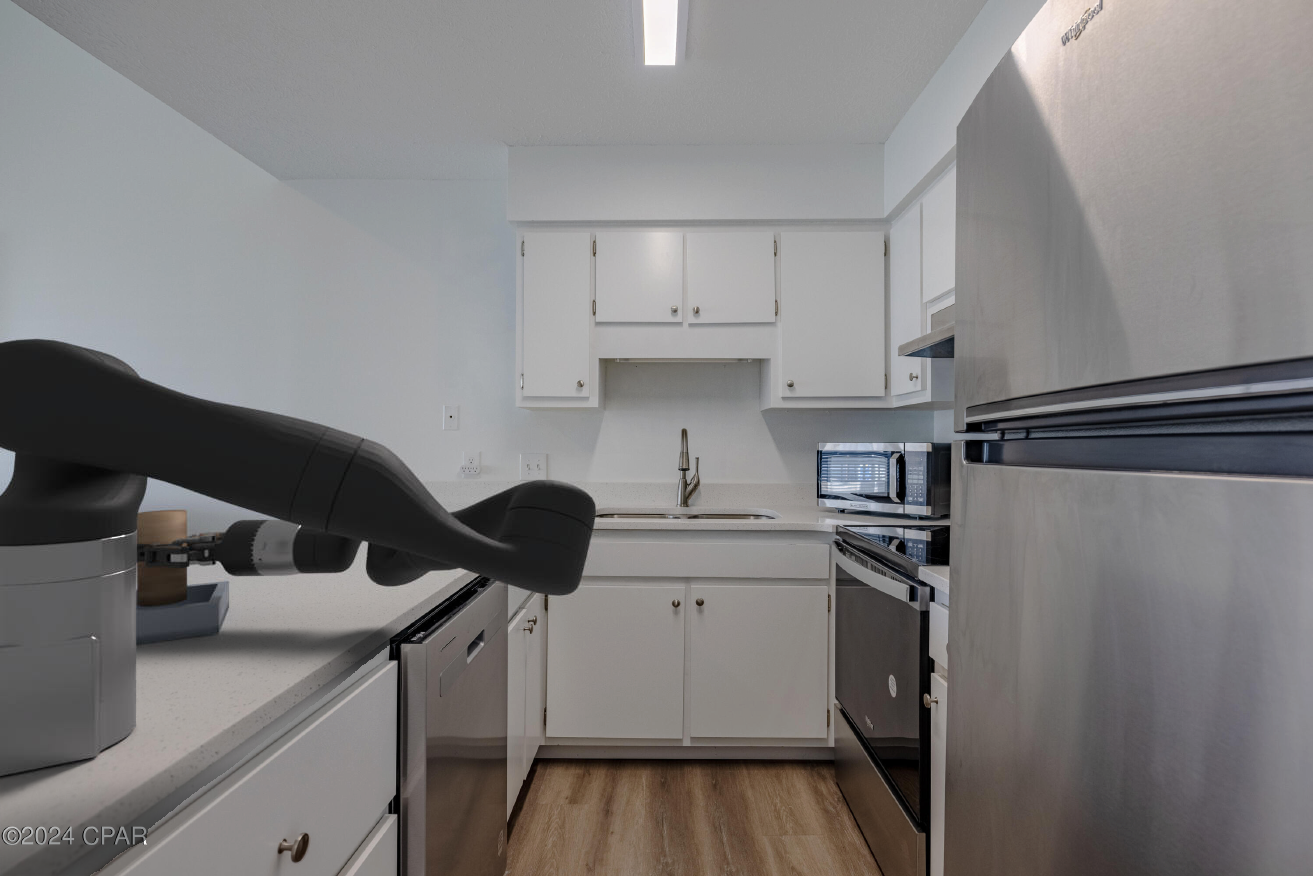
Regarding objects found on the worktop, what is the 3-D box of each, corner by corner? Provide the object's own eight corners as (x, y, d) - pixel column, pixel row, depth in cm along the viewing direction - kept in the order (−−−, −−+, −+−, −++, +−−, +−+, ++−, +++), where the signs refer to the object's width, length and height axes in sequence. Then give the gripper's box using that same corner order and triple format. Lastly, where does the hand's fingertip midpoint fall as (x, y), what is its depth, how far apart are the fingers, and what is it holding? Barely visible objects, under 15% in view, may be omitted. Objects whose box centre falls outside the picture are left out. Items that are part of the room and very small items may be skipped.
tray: (218, 633, 78) (218, 602, 78) (72, 653, 71) (72, 619, 71) (229, 607, 90) (229, 580, 90) (105, 621, 83) (105, 592, 83)
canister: (183, 603, 80) (183, 512, 80) (132, 608, 77) (132, 515, 77) (189, 594, 84) (189, 508, 84) (141, 599, 82) (141, 511, 82)
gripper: (238, 588, 74) (95, 590, 74) (301, 564, 89) (181, 565, 88) (238, 527, 74) (94, 529, 74) (300, 513, 89) (181, 514, 88)
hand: (142, 548), depth 81 cm, fingers closed on canister, 5 cm apart
